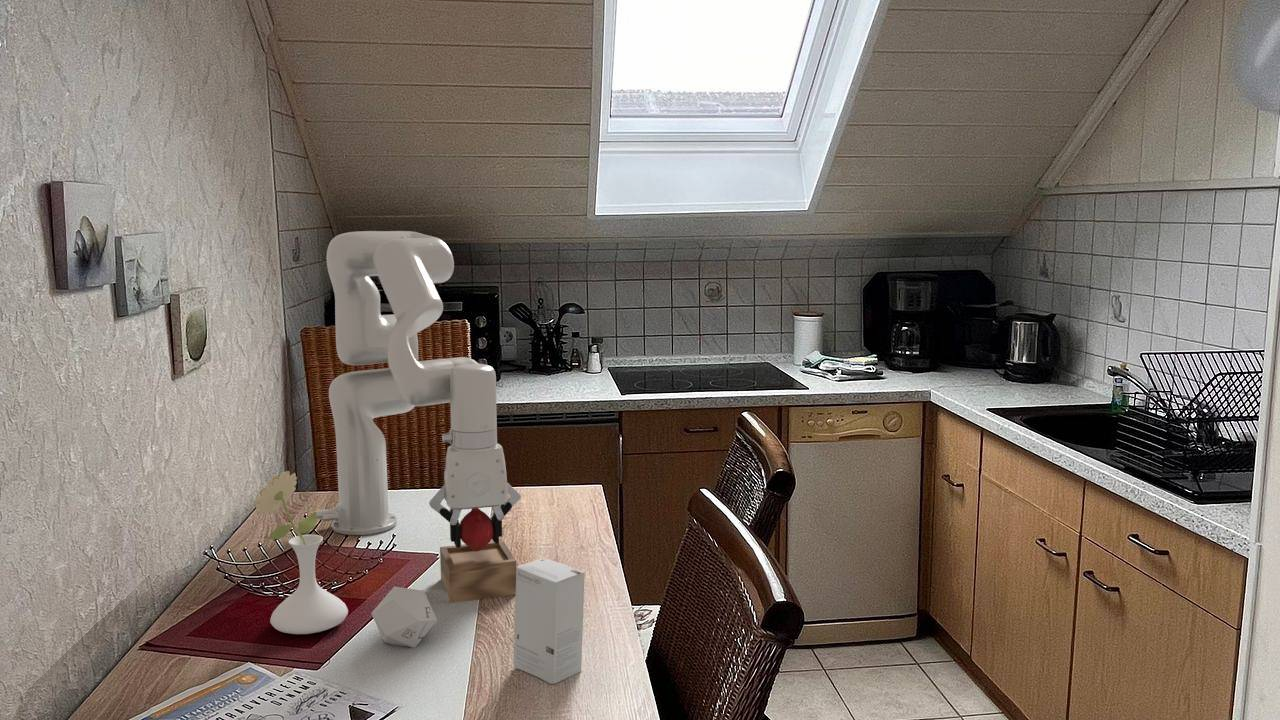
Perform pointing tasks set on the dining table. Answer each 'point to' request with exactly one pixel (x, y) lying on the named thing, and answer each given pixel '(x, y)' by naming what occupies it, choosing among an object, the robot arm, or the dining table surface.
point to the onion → (476, 529)
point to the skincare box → (548, 620)
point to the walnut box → (478, 572)
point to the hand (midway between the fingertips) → (476, 542)
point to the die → (404, 616)
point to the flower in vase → (300, 568)
